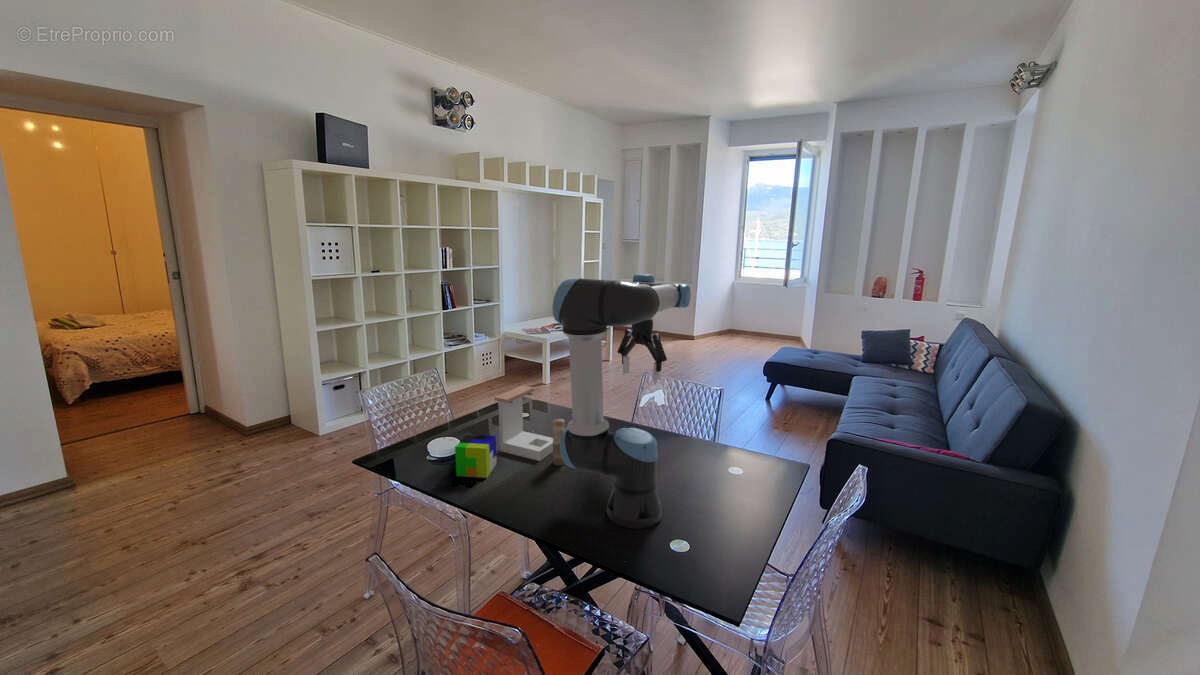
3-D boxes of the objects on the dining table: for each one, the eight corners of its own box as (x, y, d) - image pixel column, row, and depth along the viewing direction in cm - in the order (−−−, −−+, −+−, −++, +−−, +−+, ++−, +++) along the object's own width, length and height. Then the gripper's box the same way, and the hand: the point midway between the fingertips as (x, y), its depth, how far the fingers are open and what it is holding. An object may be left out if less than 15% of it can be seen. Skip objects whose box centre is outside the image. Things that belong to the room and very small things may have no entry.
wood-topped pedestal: (508, 446, 170) (507, 399, 167) (496, 443, 173) (494, 397, 169) (535, 431, 184) (534, 387, 181) (523, 428, 187) (522, 385, 183)
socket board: (539, 461, 167) (539, 451, 167) (500, 451, 175) (499, 441, 174) (558, 448, 178) (558, 439, 177) (520, 439, 186) (519, 430, 185)
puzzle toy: (496, 463, 165) (495, 436, 163) (487, 478, 156) (485, 448, 154) (467, 462, 166) (466, 434, 164) (456, 476, 156) (455, 446, 154)
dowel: (560, 466, 164) (560, 424, 161) (550, 463, 165) (550, 421, 163) (567, 461, 167) (566, 420, 164) (557, 459, 169) (556, 418, 166)
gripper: (678, 321, 167) (675, 381, 171) (621, 313, 183) (620, 368, 187) (665, 323, 162) (663, 385, 166) (608, 315, 178) (607, 372, 182)
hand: (640, 376), depth 177 cm, fingers open, 13 cm apart
